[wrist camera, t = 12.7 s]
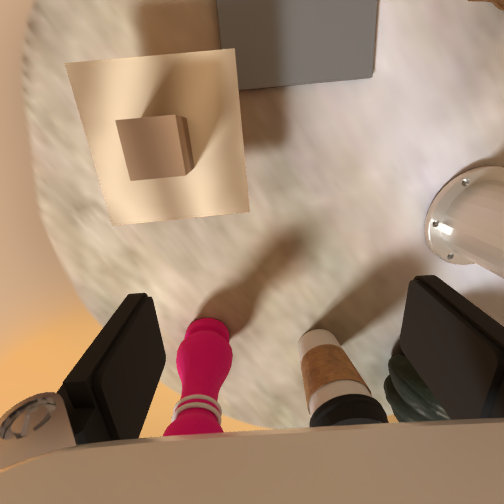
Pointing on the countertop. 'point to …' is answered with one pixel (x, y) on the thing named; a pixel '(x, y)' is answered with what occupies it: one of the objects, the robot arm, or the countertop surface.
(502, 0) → the place setting
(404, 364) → the squash
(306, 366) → the coffee cup
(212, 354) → the pepper mill
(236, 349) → the countertop surface
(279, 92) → the countertop surface
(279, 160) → the countertop surface
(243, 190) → the lid
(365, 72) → the tray
